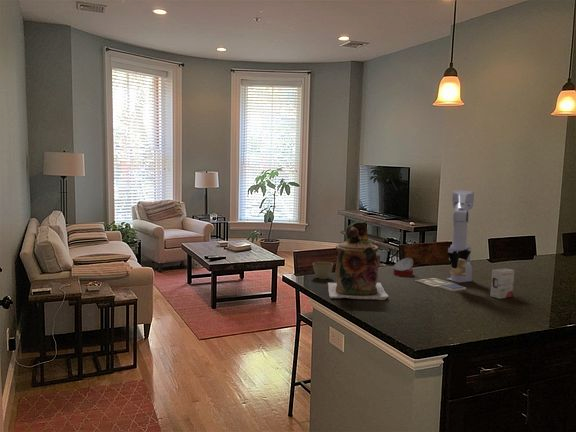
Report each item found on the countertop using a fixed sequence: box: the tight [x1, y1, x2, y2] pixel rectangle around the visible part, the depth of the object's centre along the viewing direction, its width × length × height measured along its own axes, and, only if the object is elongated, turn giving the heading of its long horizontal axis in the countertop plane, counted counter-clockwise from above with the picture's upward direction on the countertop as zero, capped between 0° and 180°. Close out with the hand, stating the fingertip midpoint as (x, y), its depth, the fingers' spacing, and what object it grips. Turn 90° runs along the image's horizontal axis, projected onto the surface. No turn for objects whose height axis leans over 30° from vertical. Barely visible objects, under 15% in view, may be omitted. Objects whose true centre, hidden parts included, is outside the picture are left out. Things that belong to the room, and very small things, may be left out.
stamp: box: [449, 258, 466, 276], centre depth 223 cm, size 5×5×7 cm
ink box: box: [489, 267, 515, 300], centre depth 213 cm, size 9×5×12 cm, turn 116°
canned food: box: [392, 257, 414, 277], centre depth 254 cm, size 11×10×10 cm
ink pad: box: [439, 283, 467, 292], centre depth 226 cm, size 8×8×1 cm
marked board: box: [414, 277, 456, 288], centre depth 236 cm, size 13×13×1 cm
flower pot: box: [312, 261, 334, 280], centre depth 242 cm, size 10×10×7 cm
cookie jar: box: [327, 219, 389, 301], centre depth 213 cm, size 25×25×32 cm
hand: (458, 267), depth 223 cm, fingers closed on stamp, 6 cm apart
